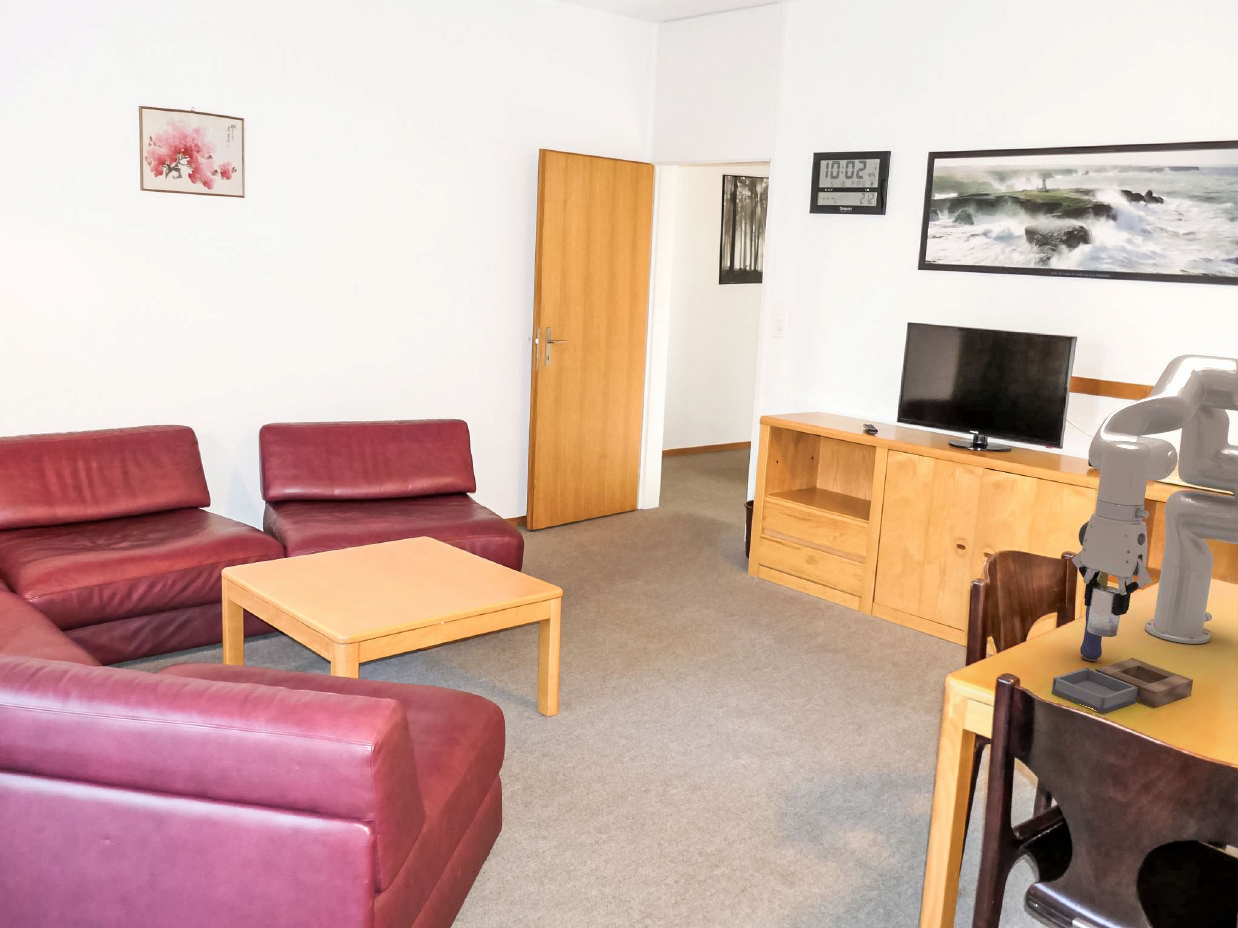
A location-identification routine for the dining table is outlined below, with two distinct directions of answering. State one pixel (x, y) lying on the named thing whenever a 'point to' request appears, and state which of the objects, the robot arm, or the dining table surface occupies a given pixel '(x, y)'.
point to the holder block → (1149, 681)
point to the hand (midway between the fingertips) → (1105, 608)
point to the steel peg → (1103, 611)
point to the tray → (1094, 690)
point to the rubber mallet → (1090, 642)
